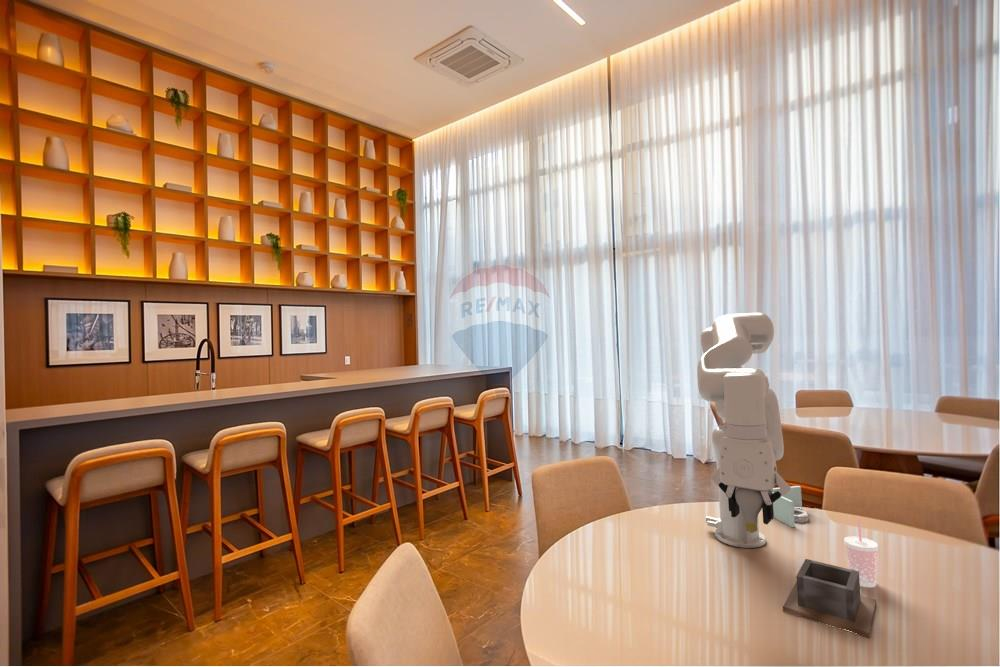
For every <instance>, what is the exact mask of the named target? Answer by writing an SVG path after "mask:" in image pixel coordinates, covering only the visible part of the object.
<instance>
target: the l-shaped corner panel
mask: <svg viewBox="0 0 1000 667" xmlns="http://www.w3.org/2000/svg"><path fill="white" fill-rule="evenodd" d="M790 487H791V490H790V491H789V492H788V493H786V494H785V495H783V496H781V497H780V498H779V499H777V500H776V501H775V502H773V511H774V518H773V519H776V520H778V521H780V522H782V523H783V524H786V525H787V526H789V527H791V528H794V527H795V526H796V524H795V523H801V524H803V523H806V522H809V521H810V520H809V516H810V515H809V513H808V512H807V511H805V510H803V501H802V499H803V498H802V487H801V486H800V485H793V486H791V485H790ZM779 489H780V487H774V488H773V489H772V492H773V493H774V492H775V491H777V490H779ZM794 507H801V508H802V509H800V508H794Z"/></svg>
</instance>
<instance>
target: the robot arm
mask: <svg viewBox="0 0 1000 667" xmlns="http://www.w3.org/2000/svg"><path fill="white" fill-rule="evenodd" d="M774 333H775V328H774V324H773V321H772V319H771V318H770V317H769V316H768V315H767V314H765V313H763V312H747V313H745V312H743V313H731V314H724V315H721V316H719V317H717V318H716V319H715V320H714V321H713V323H712V324H711V326H710V327H708V328H706V329H704V330H703V331H702V332H701V334H700V343H701V344H700V345H701V350H702V352H703V354H702V355H701V357H700V359H699V360H698V364H697V368H696V369H697V371H696V372H697V374H696V375H697V376H696V378H697V388H698V392H699V395H700V396H701V398H702V399H703V400H705V401H707V402H710V403H714V407H715V412H716V414H717V416H718V417H719V418H720V419H722V420H724V421H725V422H724V423H719V424H718V426H717V427H716V428H714V429H713V431H712V434H711V443H712V447H713V451H714V456H715V462H716V471H714V472H713V474H712V475H710V479H711V480H712V481H713V482H714V483H715V484H716V485H717V486H718V501H719V516H720V517H717V518H716V517H713V516H709V515H707V516H706V517H705V523H706V524H707V526H708V527H714V528H716V530H715V531H714V532H715V534H714V535H715V538H716V539H717V540H718V541H719V542H721V543H723V544H726V545H729V546H731V547H737V548H742V549H744V548H745V549H755V548H759V547H763V546H764V545H765V544H767V543H766V542H767V538H766V535H765V534H763V533H762V532H761V531H760V529H759V528H760V527H759V526H760V525H759V515H758V516H757V531H756V532H753V533H750V532H749V531H747V530H746V521H745V516H744V513H743V511H742V510H741V508H740V507H739V505H738V504H737V502H736V499H735V493H736V490H737V488H738V487H739V488H745V489H750V490H756V491H761V494H762V496H763V499H764V503H763V505H762V509H761V512H762V523H763V525H769V524H770V522H771V521H773V520H774V519H775V518H774V511H773V502H775V501H776V500H777V499H779V498H780V497H781V496H783V495H785V494H786V493H788V492H789V491H790V490H791V485H789V483H787V482H786V481H785V479H784V478H783V477H782V476H781V475H780V474H779V473H778V468H777V461H780V460H781V459H782V458H783V456H784V454H785V453H784V452H785V445H784V437H783V435H784V434H783V428H782V422H781V421H782V420H781V412H780V407H779V401H778V397H777V395H776V392H774V390H773V389H772V388H770V382H769V376H767V375H766V373H765V372H764V371H763V370H761V369H759V368H756V367H755V368H754V367H753V368H752V367H744V368H743V367H742V366H743V365H745V364H747V363H748V362H749V361H750V359H751V358H752V355H755V354H757V355H758V354H762V353H765V352H767V350H768V349H769V347H770V345H771V344H772V342H773V340H774V335H775V334H774ZM776 486H778V488H780V489H779V490H777V491H775V492H774V493H773V492H772V489H773V488H775V487H776Z"/></svg>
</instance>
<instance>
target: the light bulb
mask: <svg viewBox="0 0 1000 667" xmlns="http://www.w3.org/2000/svg"><path fill="white" fill-rule="evenodd" d="M735 499H736V502H737V504H738V505H739V507H740V508H741V510H742V511H743V513H744V516H745V521H746V530H747V531H749V532H750V533H753V532H756V531H757V516H758V517H759V514H760V512H762V505H763V503H764V499H763V496H762V494H761V491H756V490H750V489H745V488H739V487H738V488H737V490H736V493H735Z"/></svg>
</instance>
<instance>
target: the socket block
mask: <svg viewBox="0 0 1000 667" xmlns="http://www.w3.org/2000/svg"><path fill="white" fill-rule="evenodd" d="M813 577H814V578H813ZM795 578H796V580H795V583H794V584H793V586H792V587H791V590H790V591H789V594H788V596H787V598H786V600H785V602H784V603H783V605H782V611H783V612H784V613H788V614H790V615H795V616H797V617H800V618H803V619H806V620H809V619H810V621H813V622H817V623H819V622H820V623H819V624H822V623H823V624H822V625H825V624H828V625H827V626H829V625H831V626H830V627H832V626H834V627H833V628H835V627H836V629H838V628H841V629H840V630H842V629H846V630H849V631H852V632H854V633H857V634H856V635H858V634H859V635H858V636H861V637H864V636H865V638H867V637H868V638H867V639H870V637H871V632H872V628H871V627H872V626H873V623H874V617H875V613H876V608H877V599H875V598H872V597H868V596H864V595H861V586H860V580H859V571H855V570H851V569H849V568H847V567H846V568H845V567H841V566H837V565H833V564H829V563H825V562H821V561H816V560H813V559H807V558H805V559H804V561H803V562H802V565H801V567H800V569H799V570H798V571H797V574H796V576H795ZM816 578H818V579H816ZM820 579H822V580H820ZM824 580H826V581H824ZM828 581H830V582H828ZM832 582H833V583H832ZM836 583H837V584H836ZM840 584H841V585H840ZM844 585H845V586H844ZM854 633H853V634H854Z"/></svg>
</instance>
